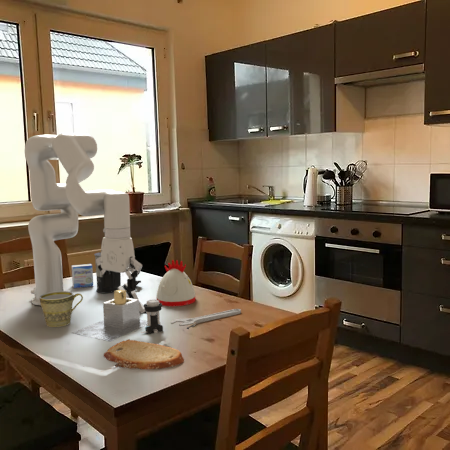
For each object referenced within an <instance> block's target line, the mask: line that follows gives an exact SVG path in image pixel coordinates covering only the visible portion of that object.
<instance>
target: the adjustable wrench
mask: <svg viewBox="0 0 450 450" xmlns="http://www.w3.org/2000/svg"><path fill="white" fill-rule="evenodd" d="M241 313H242V309H240V308H233V309H228V310H224V311H219V312H215V313H211V314H206V315H202V316H196V317H191V318H190V317H189V318H187V317H186V318H177V319H173V320H171V321H170V324H171V325H172V324H175V323H178V322H179V323H180V322H181V323H180V324H179V326H180V327H181V326H187V327H186V329H190V328H194V327H195V326H196V325H197V324H201V323H204V322H208V321H213V320H217V319H222V318H226V317H230V316H231V317H232V316H236V315H240V314H241ZM189 325H190V326H189Z"/></svg>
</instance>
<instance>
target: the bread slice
mask: <svg viewBox="0 0 450 450" xmlns="http://www.w3.org/2000/svg"><path fill="white" fill-rule="evenodd" d="M103 357H104V358H105V359H106V360H107V361H109V362H113V363H116V364H114V365H113V366H114V367H117V368H123V369H129V370H135V369H136V370H162V369H167V368H168V369H169V368H173V367H177V366H178V365H180V364H183V363H184V362H185V358H184V357H183V355H182V353H181V351H180V350H179V349H178V348H177V349H176V348H173V347H171V346H167V345H161V344H157V343H153V342H145V341H139V340H135V339H128V338H127V339H126V340H121V341H119V342H118V343H115V345H112V346H110V347H109V349H107V351H105V352H104V353H103Z"/></svg>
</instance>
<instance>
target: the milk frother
mask: <svg viewBox="0 0 450 450" xmlns="http://www.w3.org/2000/svg"><path fill="white" fill-rule="evenodd" d="M94 257H95V260H94V261H95V276H96V292H97V293H99V294H100V293H101V294H109V293H114V291H116V290H118V287H119V286H122V285H121V283H122V280H121V277H122V275H121V274H122V273H119V272H113V271H110V272H109V273H111V280H112V285H111V286H109V287H106V288H103V275H102V274H101V271H100V270H99V268H98V265H97V262H96V259H98V258H99V257H101V251H100V252H95V253H94ZM140 283H142V280H136V287H137V286H138V284H140Z"/></svg>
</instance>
